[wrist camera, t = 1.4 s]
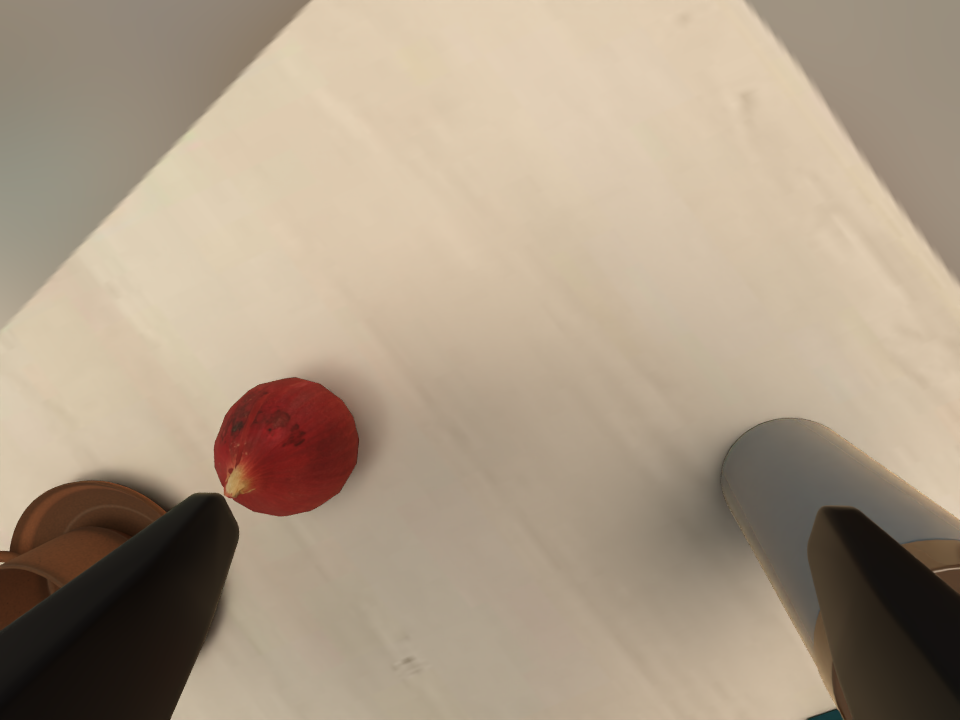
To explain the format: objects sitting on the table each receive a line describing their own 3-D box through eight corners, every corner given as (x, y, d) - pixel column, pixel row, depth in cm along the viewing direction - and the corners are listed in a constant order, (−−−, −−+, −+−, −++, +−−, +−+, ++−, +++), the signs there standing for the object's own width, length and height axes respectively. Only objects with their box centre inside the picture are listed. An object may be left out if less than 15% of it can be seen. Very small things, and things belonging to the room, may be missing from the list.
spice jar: (818, 561, 25) (1024, 834, 13) (696, 506, 26) (787, 718, 14) (886, 450, 24) (1182, 640, 12) (756, 395, 25) (913, 523, 13)
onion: (259, 380, 29) (138, 422, 21) (363, 353, 28) (274, 388, 20) (294, 488, 30) (188, 567, 22) (396, 466, 28) (322, 543, 21)
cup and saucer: (53, 653, 35) (-59, 734, 29) (29, 461, 33) (-97, 506, 27) (234, 681, 32) (153, 776, 27) (220, 478, 30) (129, 530, 24)
